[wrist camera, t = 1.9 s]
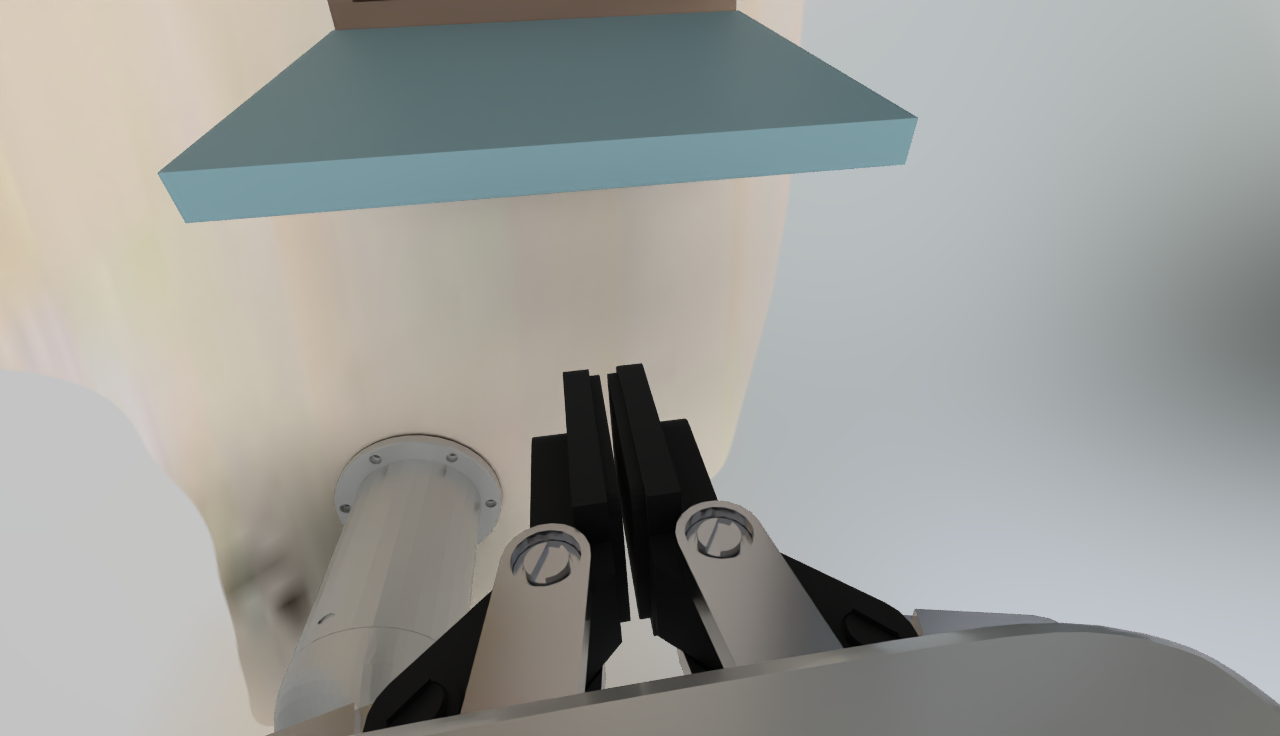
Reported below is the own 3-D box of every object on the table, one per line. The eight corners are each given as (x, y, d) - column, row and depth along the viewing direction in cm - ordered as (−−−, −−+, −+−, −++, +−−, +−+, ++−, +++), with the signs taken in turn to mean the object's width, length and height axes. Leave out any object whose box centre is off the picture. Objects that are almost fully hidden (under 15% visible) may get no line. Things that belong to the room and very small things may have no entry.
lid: (738, 10, 27) (736, 39, 28) (332, 30, 25) (342, 61, 26) (918, 117, 15) (904, 164, 16) (157, 173, 13) (185, 223, 14)
